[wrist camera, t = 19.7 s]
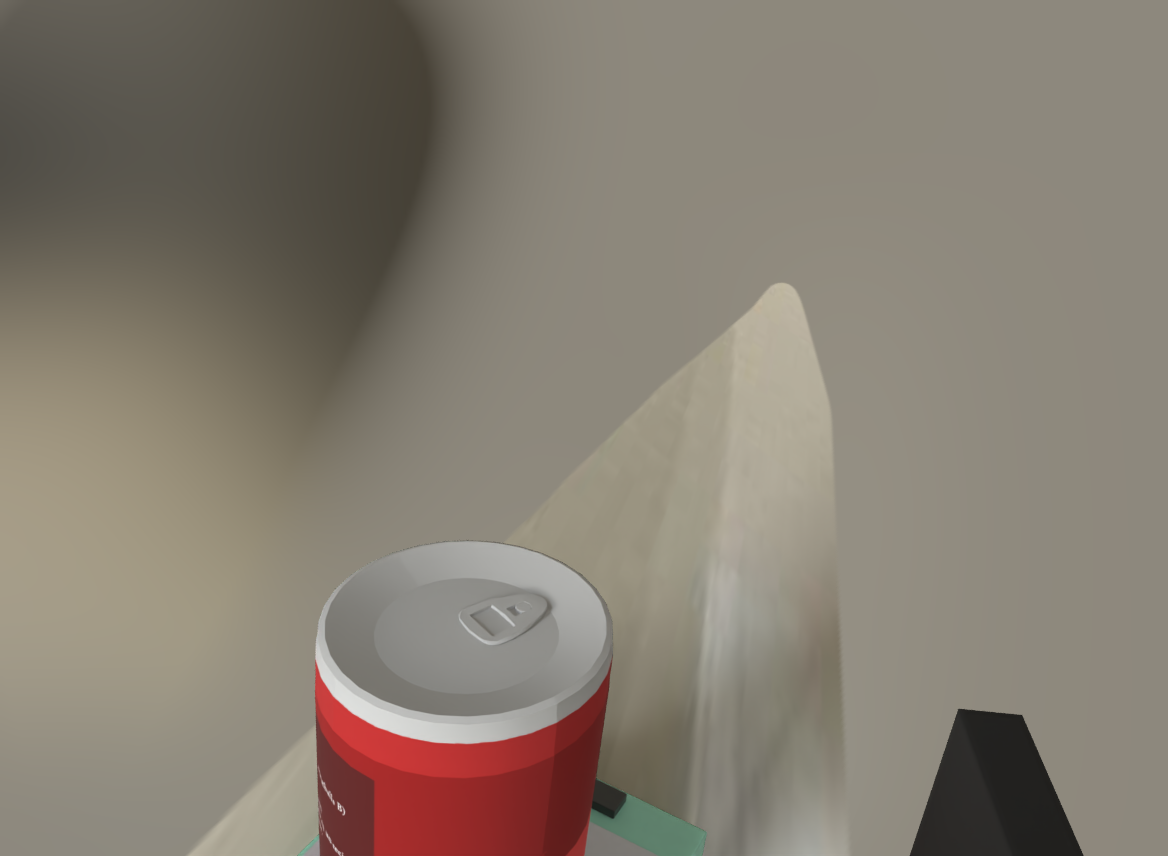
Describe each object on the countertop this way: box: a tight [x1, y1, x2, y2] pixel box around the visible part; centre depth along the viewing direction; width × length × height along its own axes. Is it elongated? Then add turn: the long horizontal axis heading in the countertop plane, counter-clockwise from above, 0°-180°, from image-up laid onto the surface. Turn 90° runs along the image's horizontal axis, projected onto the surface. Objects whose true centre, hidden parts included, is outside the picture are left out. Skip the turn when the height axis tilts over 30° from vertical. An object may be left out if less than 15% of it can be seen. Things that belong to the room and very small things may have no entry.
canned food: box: [315, 540, 613, 856], centre depth 32 cm, size 8×8×11 cm
